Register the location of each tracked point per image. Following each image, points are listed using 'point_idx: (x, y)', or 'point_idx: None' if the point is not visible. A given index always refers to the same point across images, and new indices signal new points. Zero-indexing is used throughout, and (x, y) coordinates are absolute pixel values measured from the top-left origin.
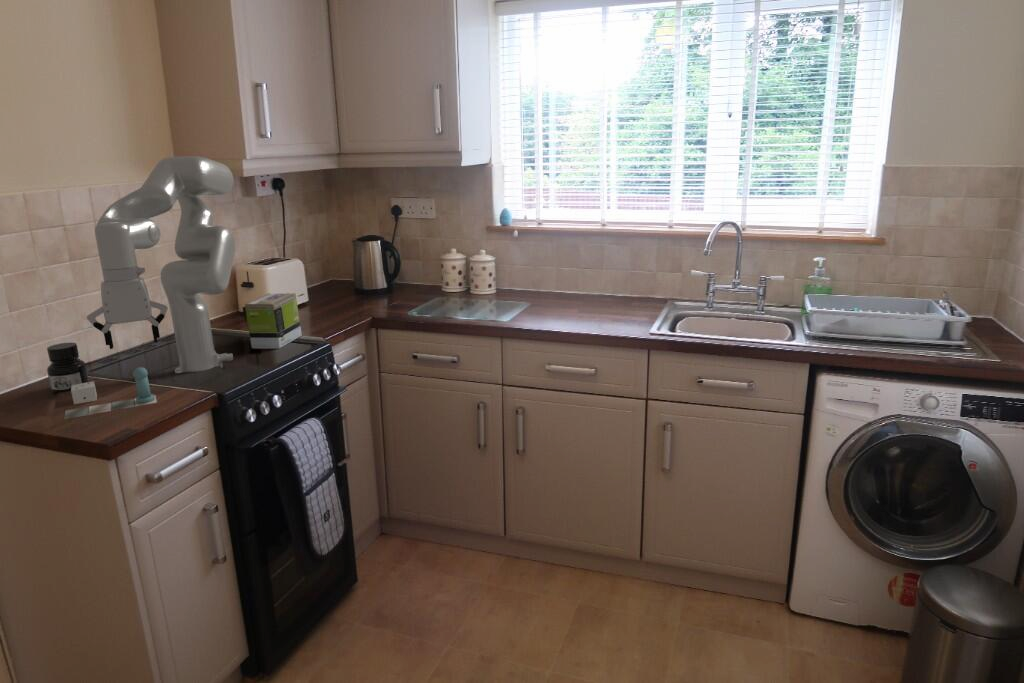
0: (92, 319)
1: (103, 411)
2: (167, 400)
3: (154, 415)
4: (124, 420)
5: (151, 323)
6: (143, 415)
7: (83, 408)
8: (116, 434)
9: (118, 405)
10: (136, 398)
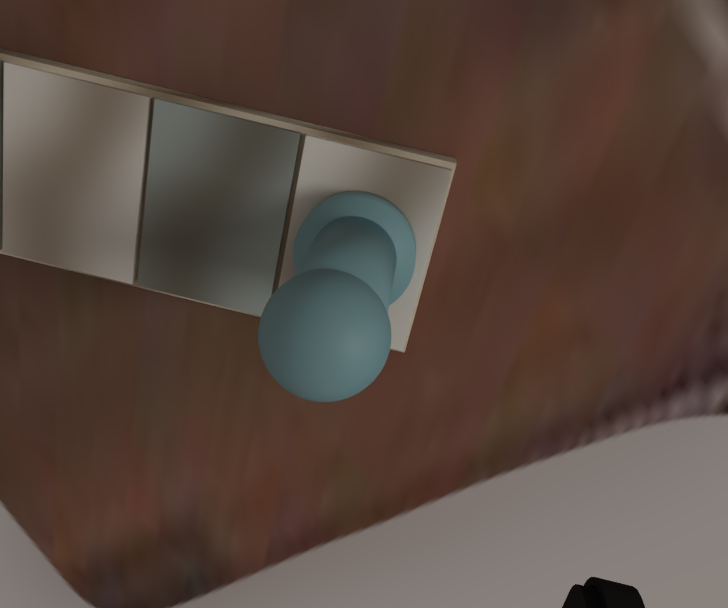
0: None
1: (88, 261)
2: (501, 244)
3: (348, 449)
4: (197, 402)
5: None
6: (299, 404)
7: None
8: (138, 553)
9: (184, 211)
10: (295, 254)
